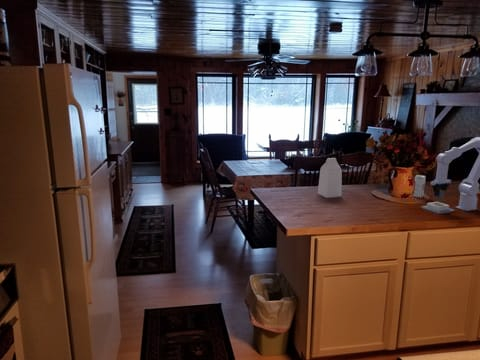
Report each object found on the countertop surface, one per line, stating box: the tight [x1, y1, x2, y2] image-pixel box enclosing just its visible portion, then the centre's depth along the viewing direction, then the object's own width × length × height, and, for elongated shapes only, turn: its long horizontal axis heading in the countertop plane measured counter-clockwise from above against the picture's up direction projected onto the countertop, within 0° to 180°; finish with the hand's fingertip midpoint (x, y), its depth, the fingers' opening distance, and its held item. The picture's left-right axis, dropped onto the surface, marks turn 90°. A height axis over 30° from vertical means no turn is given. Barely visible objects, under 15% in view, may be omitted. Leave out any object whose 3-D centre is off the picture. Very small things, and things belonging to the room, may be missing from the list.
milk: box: [317, 157, 343, 199], centre depth 254 cm, size 12×12×26 cm
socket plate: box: [420, 201, 456, 215], centre depth 223 cm, size 13×13×4 cm
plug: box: [433, 190, 446, 200], centre depth 222 cm, size 4×4×5 cm
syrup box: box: [412, 174, 426, 199], centre depth 252 cm, size 6×6×14 cm
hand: (439, 195), depth 222 cm, fingers closed on plug, 4 cm apart
